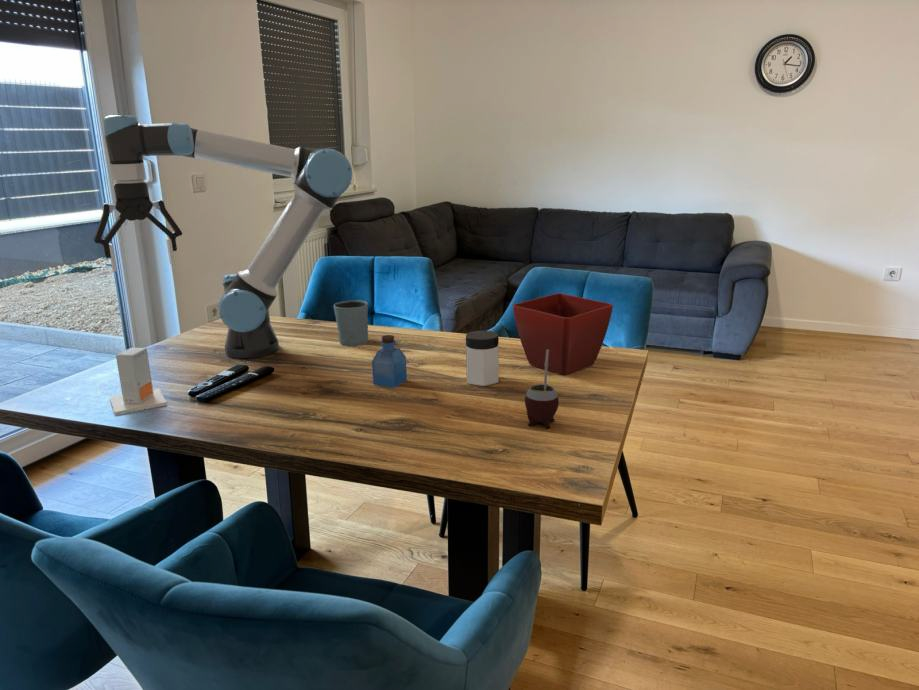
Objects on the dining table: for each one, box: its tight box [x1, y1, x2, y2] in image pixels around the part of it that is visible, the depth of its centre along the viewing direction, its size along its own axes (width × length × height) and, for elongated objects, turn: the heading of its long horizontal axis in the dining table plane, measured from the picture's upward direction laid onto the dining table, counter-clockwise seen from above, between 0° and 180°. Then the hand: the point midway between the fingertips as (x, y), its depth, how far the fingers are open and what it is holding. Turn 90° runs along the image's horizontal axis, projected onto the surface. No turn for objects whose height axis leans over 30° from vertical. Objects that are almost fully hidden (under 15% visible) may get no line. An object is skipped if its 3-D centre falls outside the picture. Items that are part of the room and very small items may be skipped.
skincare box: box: [115, 347, 154, 404], centre depth 157 cm, size 6×4×12 cm
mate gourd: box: [524, 349, 560, 430], centre depth 142 cm, size 8×8×15 cm
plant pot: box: [512, 292, 614, 376], centre depth 177 cm, size 19×19×17 cm
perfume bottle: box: [371, 334, 408, 389], centre depth 168 cm, size 6×6×12 cm
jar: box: [465, 330, 500, 387], centre depth 168 cm, size 9×8×12 cm
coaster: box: [109, 388, 168, 416], centre depth 159 cm, size 11×11×1 cm
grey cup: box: [333, 299, 369, 347], centre depth 202 cm, size 10×10×12 cm
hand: (144, 267), depth 171 cm, fingers open, 13 cm apart
